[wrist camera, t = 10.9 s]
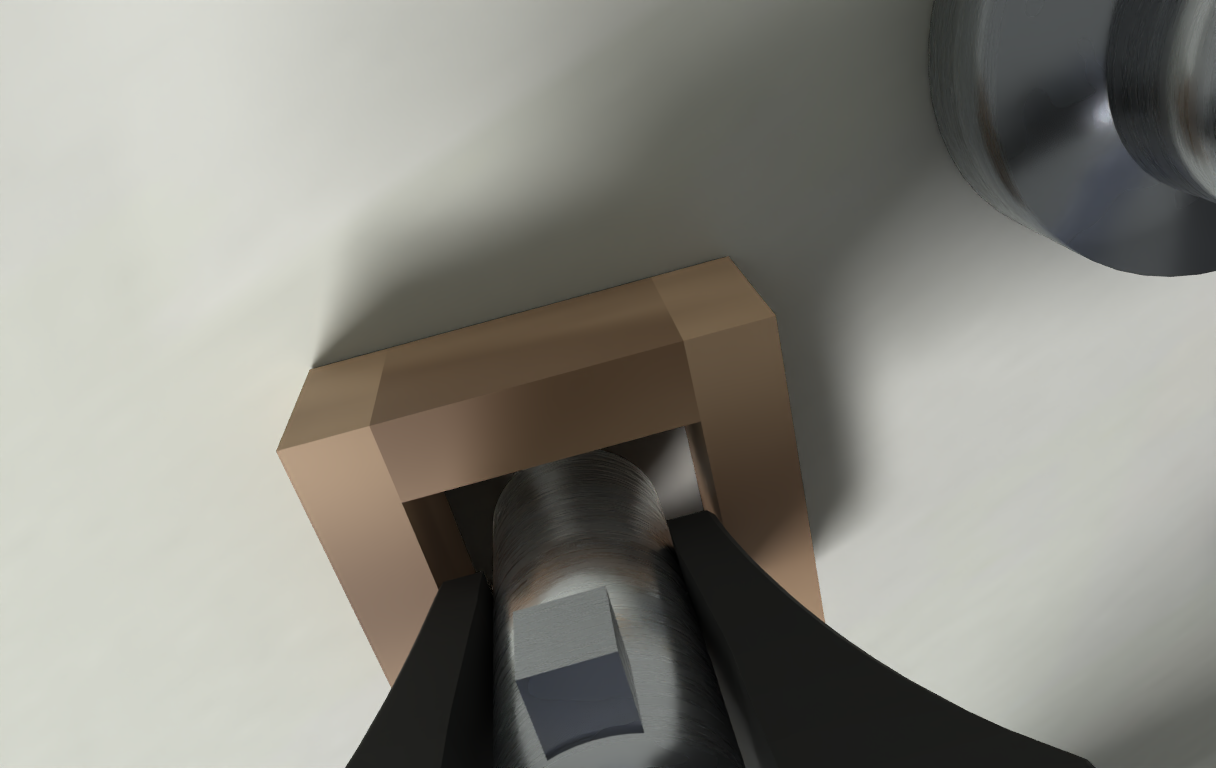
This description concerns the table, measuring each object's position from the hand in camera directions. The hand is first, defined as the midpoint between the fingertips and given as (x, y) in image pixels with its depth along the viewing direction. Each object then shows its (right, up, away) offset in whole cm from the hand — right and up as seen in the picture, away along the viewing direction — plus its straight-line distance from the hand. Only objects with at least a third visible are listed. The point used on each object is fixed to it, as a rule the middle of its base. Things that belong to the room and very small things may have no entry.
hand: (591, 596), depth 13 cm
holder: (0, +1, +3) cm, 3 cm away
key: (0, +1, +1) cm, 2 cm away
